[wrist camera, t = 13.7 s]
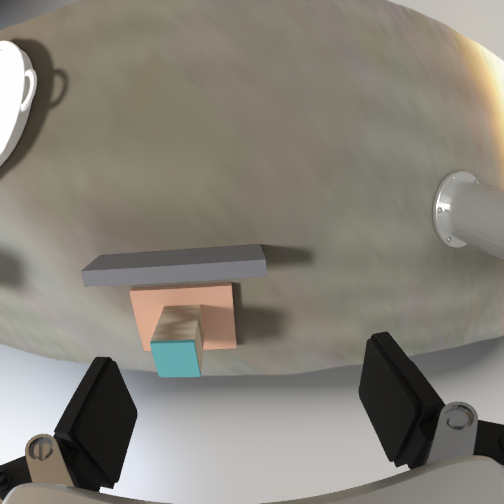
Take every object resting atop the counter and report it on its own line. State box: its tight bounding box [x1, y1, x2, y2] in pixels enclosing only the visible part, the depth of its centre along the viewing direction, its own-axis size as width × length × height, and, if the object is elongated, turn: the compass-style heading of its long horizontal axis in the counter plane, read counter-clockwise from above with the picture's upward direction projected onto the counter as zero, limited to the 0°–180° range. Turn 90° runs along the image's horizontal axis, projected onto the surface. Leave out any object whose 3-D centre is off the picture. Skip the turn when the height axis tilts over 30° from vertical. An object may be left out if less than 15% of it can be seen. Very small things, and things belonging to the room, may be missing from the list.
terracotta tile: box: [130, 283, 237, 351], centre depth 40 cm, size 14×10×1 cm
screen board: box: [81, 244, 266, 286], centre depth 35 cm, size 22×2×6 cm, turn 93°
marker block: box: [150, 304, 204, 377], centre depth 35 cm, size 5×5×9 cm
